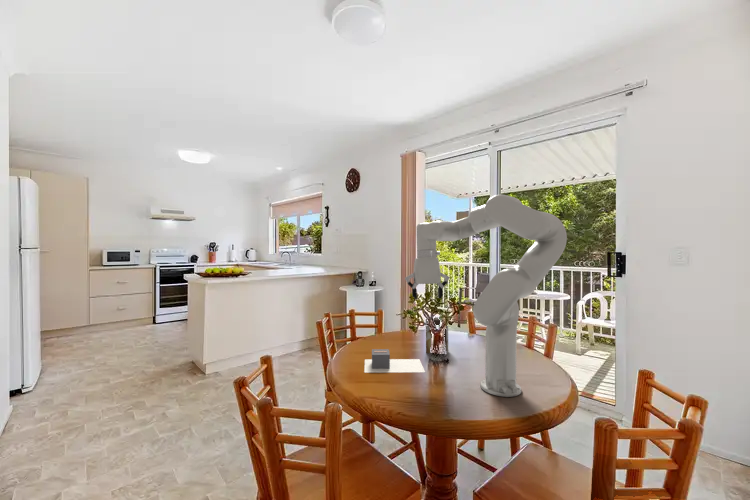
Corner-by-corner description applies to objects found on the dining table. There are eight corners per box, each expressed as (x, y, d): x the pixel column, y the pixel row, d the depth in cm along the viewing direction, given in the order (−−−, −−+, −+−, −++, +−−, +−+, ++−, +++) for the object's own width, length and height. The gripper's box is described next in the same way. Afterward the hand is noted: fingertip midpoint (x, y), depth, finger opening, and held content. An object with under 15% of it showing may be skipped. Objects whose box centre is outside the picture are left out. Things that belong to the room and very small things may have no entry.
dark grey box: (388, 362, 131) (388, 348, 131) (389, 368, 124) (389, 354, 124) (371, 362, 131) (371, 348, 131) (371, 368, 124) (372, 354, 124)
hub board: (425, 376, 121) (425, 363, 121) (364, 376, 120) (364, 364, 120) (419, 362, 135) (419, 351, 135) (364, 363, 134) (364, 351, 134)
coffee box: (449, 354, 145) (449, 317, 145) (446, 359, 139) (447, 320, 139) (428, 352, 149) (428, 316, 148) (425, 356, 142) (425, 319, 142)
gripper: (446, 254, 135) (446, 296, 135) (403, 255, 134) (404, 297, 134) (451, 254, 128) (452, 299, 127) (406, 255, 127) (406, 300, 127)
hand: (427, 298), depth 131 cm, fingers open, 9 cm apart
